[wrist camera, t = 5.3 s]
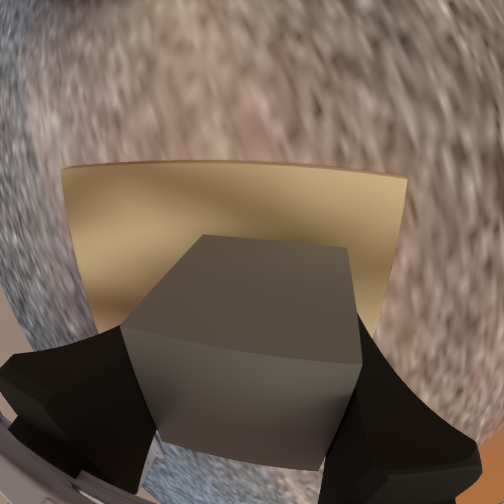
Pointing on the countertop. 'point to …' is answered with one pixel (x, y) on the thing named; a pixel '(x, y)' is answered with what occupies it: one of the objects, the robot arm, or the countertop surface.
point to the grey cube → (249, 349)
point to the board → (224, 221)
